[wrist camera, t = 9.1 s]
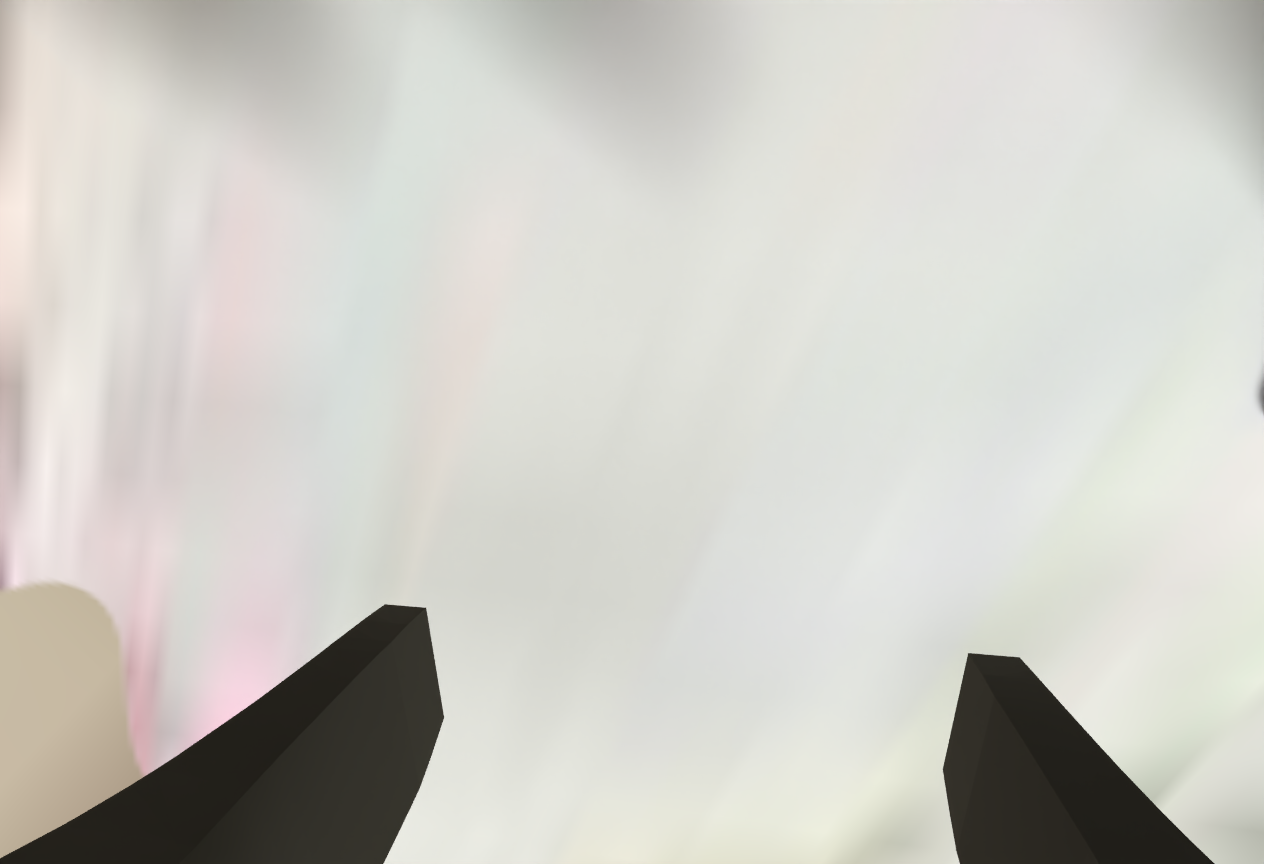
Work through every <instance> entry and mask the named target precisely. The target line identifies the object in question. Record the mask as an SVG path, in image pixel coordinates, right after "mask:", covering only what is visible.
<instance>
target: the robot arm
mask: <svg viewBox="0 0 1264 864" xmlns="http://www.w3.org/2000/svg"><path fill="white" fill-rule="evenodd" d="M443 719H444V715H443V709H442V703H441V696H440V690H439V684H438V678H437V672H436V666H435V660H434V654H433V648H432V642H431V635H430V629H429V623H428V617H427V611H426V608H421V607H409V606H397V605H384V606H382V607H381V608H379V609H378V610H376V611H375V612H374V613H372V614H371V615H369V616H368V617H367V618H365V619H364V620H363V621H361V622H360V623H359V624H357V625H356V626H355V627H353V628H352V629H351V630H349V631H348V632H347V633H346V634H344V635H343V636H342V637H340V638H339V639H338V640H336V641H335V642H334V643H332V644H331V645H330V646H329V647H327V648H326V649H325V650H323V651H322V652H321V653H319V654H318V655H317V656H316V657H314V658H313V659H312V660H310V661H309V662H308V663H306V664H305V665H304V666H302V667H301V668H300V669H298V670H297V671H296V672H294V673H293V674H292V675H290V676H289V677H288V678H286V679H285V680H284V681H282V682H281V683H280V684H278V685H277V686H276V687H274V688H273V689H272V690H270V691H269V692H268V693H266V694H265V695H264V696H262V697H261V698H260V699H258V700H257V701H255V702H254V703H253V704H251V705H250V706H248V707H247V708H246V709H244V710H243V711H241V712H240V713H238V714H237V715H235V716H234V717H233V718H231V719H230V720H228V721H227V722H225V723H224V724H222V725H221V726H219V727H218V728H217V729H215V730H214V731H212V732H211V733H209V734H208V735H206V736H205V737H204V738H202V739H201V740H199V741H198V742H196V743H195V744H193V745H192V746H191V747H189V748H188V749H186V750H185V751H183V752H182V753H180V754H179V755H178V756H176V757H174V758H173V759H171V760H170V761H168V762H167V763H165V764H164V765H162V766H161V767H159V768H158V769H156V770H154V771H153V772H151V773H150V774H148V775H146V776H145V777H143V778H142V779H140V780H138V781H137V782H135V783H134V784H132V785H131V786H129V787H127V788H125V789H124V790H122V791H120V792H119V793H117V794H115V795H114V796H112V797H110V798H109V799H107V800H105V801H103V802H102V803H100V804H98V805H97V806H95V807H93V808H92V809H90V810H88V811H87V812H85V813H83V814H82V815H80V816H78V817H76V818H75V819H73V820H71V821H69V822H67V823H66V824H64V825H62V826H61V827H59V828H57V829H55V830H53V831H51V832H49V833H47V834H45V835H43V836H42V837H40V838H38V839H36V840H34V841H32V842H30V843H28V844H27V845H25V846H23V847H21V848H19V849H17V850H15V851H13V852H11V853H9V854H8V855H6V856H4V857H2V858H0V864H383V863H384V861H385V859H386V857H387V855H388V853H389V851H390V849H391V847H392V845H393V843H394V841H395V839H396V837H397V835H398V833H399V830H400V828H401V826H402V824H403V822H404V820H405V818H406V816H407V814H408V812H409V810H410V808H411V806H412V803H413V801H414V799H415V797H416V795H417V793H418V791H419V788H420V786H421V783H422V780H423V778H424V775H425V772H426V769H427V766H428V764H429V761H430V758H431V755H432V752H433V749H434V746H435V743H436V740H437V737H438V734H439V731H440V728H441V725H442V722H443ZM943 773H944V780H945V786H946V792H947V799H948V805H949V811H950V817H951V823H952V828H953V834H954V839H955V845H956V851H957V854H958V858H959V862H960V864H1214V863H1213V862H1212V861H1211V860H1210V859H1209V858H1208V857H1207V856H1206V855H1205V854H1204V853H1203V852H1202V851H1201V850H1200V849H1199V848H1198V847H1196V846H1195V845H1194V844H1193V843H1192V842H1191V841H1190V840H1189V839H1188V838H1187V837H1186V836H1185V835H1184V834H1183V833H1182V832H1181V831H1180V830H1179V829H1178V828H1177V827H1176V826H1175V825H1174V824H1173V823H1172V822H1171V821H1170V820H1169V819H1168V818H1167V817H1166V816H1165V815H1164V814H1163V813H1162V812H1161V811H1160V810H1159V809H1158V808H1157V807H1156V806H1155V804H1154V803H1153V802H1152V801H1151V800H1150V799H1149V798H1148V797H1147V796H1146V795H1145V794H1144V793H1143V792H1142V791H1141V790H1140V789H1139V788H1138V787H1137V786H1136V785H1135V784H1134V783H1133V781H1132V780H1131V779H1130V778H1129V777H1128V776H1127V775H1126V774H1125V773H1124V772H1123V771H1122V770H1121V769H1120V768H1119V767H1118V766H1117V765H1116V764H1115V762H1114V761H1113V760H1112V759H1111V758H1110V757H1109V756H1108V755H1107V754H1106V753H1105V752H1104V751H1103V749H1102V748H1101V747H1100V746H1099V745H1098V744H1097V743H1096V742H1095V741H1094V740H1093V738H1092V737H1091V736H1090V735H1089V734H1088V733H1087V732H1086V731H1085V730H1084V729H1083V727H1082V726H1081V725H1080V724H1079V723H1078V722H1077V721H1076V720H1075V719H1074V717H1073V716H1072V715H1071V714H1070V713H1069V712H1068V711H1067V710H1066V709H1065V707H1064V706H1063V705H1062V704H1061V703H1060V702H1059V701H1058V700H1057V699H1056V697H1055V696H1054V695H1053V694H1052V693H1051V692H1050V691H1049V690H1048V688H1047V687H1046V686H1045V685H1044V684H1043V683H1042V682H1041V681H1040V680H1039V678H1038V677H1037V676H1036V675H1035V674H1034V673H1033V672H1032V671H1031V670H1030V668H1029V667H1028V666H1027V665H1026V664H1025V663H1024V662H1023V661H1022V660H1021V659H1020V658H1019V657H1007V656H995V655H984V654H972V653H968V657H967V661H966V666H965V671H964V675H963V680H962V684H961V689H960V694H959V698H958V703H957V707H956V712H955V716H954V721H953V726H952V730H951V735H950V739H949V744H948V748H947V753H946V758H945V762H944V767H943Z"/></svg>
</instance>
